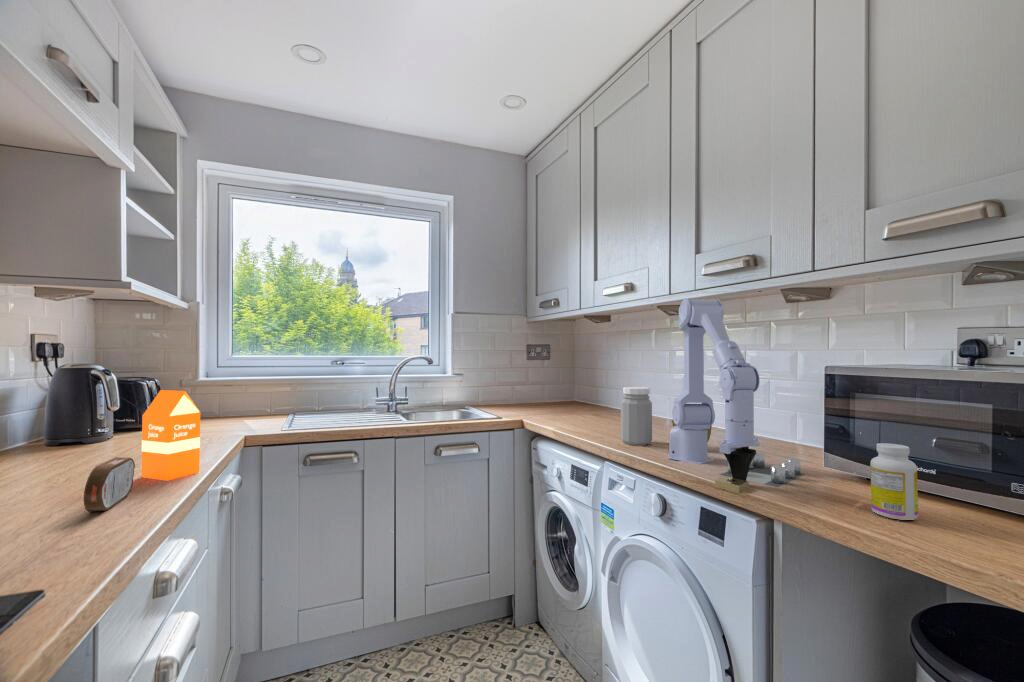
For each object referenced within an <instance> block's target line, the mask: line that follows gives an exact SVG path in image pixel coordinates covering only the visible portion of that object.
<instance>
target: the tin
mask: <svg viewBox="0 0 1024 682" xmlns="http://www.w3.org/2000/svg"><path fill="white" fill-rule="evenodd" d="M135 466H136V464H135V460H134V459H133V458H131V457H118V456H115V457H113V458H110V459H108V460H107V461H103V462H102V463H100V464H97V465H96V466H95V467H93V469H92V470H91V472H89V475H88V478H87V479H86V483H85V486H84V491H83V506H84V509H85V511H86V512H89V513H92V512H104V511H108V510H110V509H112V508H113V507H115V506H116V505H117V504H118V503H120V502H121V501H123V500H124V499H126V498H127V497H128V496H129V494H130V493H131V490H132V488H133V485H134V476H135V475H134V474H135V468H136V467H135Z"/></svg>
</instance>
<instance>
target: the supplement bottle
mask: <svg viewBox="0 0 1024 682" xmlns="http://www.w3.org/2000/svg"><path fill="white" fill-rule="evenodd" d="M910 451H911V450H910V447H909V445H908V446H907V445H904V444H897V443H888V442H886V443H883V442H881V443H879V442H878V443H876V452H877V456H875V457H873V458H871V460H870V504H871V505H870V506H871V511H872V513H874V512H875V513H877V514H880V515H883V516H887V517H893V518H898V519H915V518H917V517H919V495H918V494H919V493H918V491H919V490H918V466H917V465H916V463H915V462H913V461H912V460H910V459H909V456H910V454H911V452H910ZM875 513H874V514H875ZM877 514H876V515H877ZM917 519H918V518H917Z"/></svg>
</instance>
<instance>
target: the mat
mask: <svg viewBox="0 0 1024 682" xmlns="http://www.w3.org/2000/svg"><path fill="white" fill-rule="evenodd" d="M751 465H753V463H751ZM805 475H806V473H803V472H801V474H800V475H795V479H785V484H787V483H790V482H792V481H794V480H796V479H798V478H800V477H802V476H805ZM719 476H723V477H725V476H727V477H731V478H733V477H732V474H729V473H728V471H726V472H721V473H719ZM746 481H749V482H751V483H757V484H761V485H764V486H771V487H775V488H780V487H781V486H784V485H785V484H776V483H772V482H771V466H766V465H765V468H755V467H754V469H749V471H748V475H747V479H746Z"/></svg>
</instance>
